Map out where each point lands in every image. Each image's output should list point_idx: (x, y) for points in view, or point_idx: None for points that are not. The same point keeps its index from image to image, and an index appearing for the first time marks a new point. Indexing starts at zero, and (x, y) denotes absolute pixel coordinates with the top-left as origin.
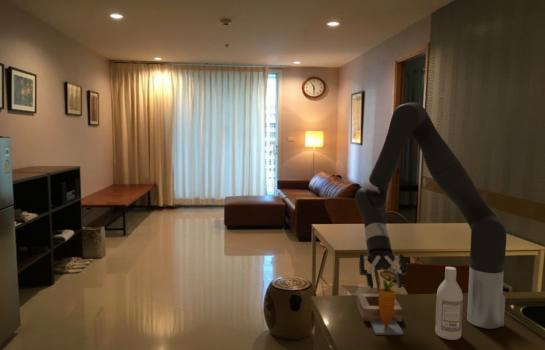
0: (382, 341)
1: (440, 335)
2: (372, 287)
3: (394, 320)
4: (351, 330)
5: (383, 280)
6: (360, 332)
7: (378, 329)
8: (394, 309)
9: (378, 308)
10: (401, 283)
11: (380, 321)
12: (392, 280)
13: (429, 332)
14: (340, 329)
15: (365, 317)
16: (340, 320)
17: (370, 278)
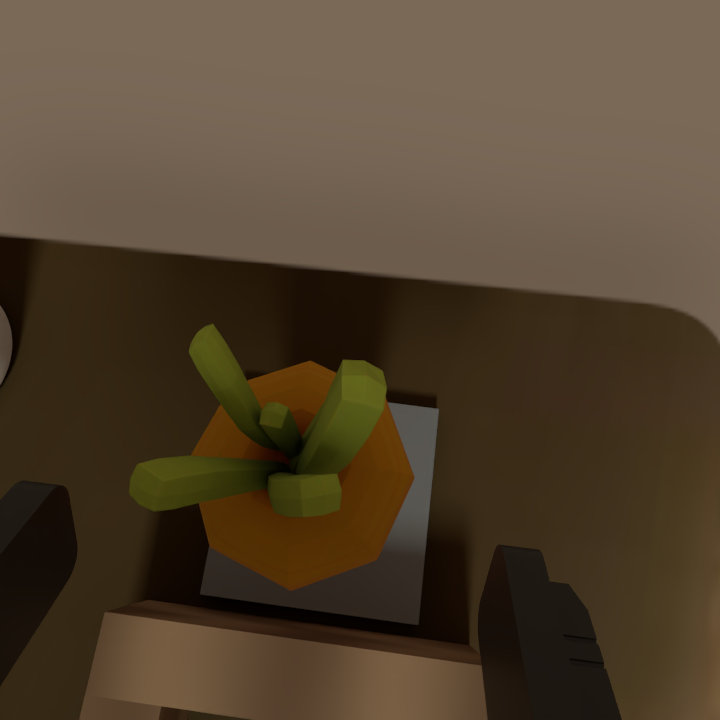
0: (420, 325)
1: (6, 319)
2: (488, 586)
3: (213, 594)
4: (598, 497)
5: (380, 375)
6: (537, 459)
7: None
8: (183, 622)
9: (337, 658)
10: (9, 493)
11: (338, 589)
12: (166, 462)
13: (40, 403)
14: (680, 522)
15: (456, 649)
16: (663, 686)
17: (560, 653)
